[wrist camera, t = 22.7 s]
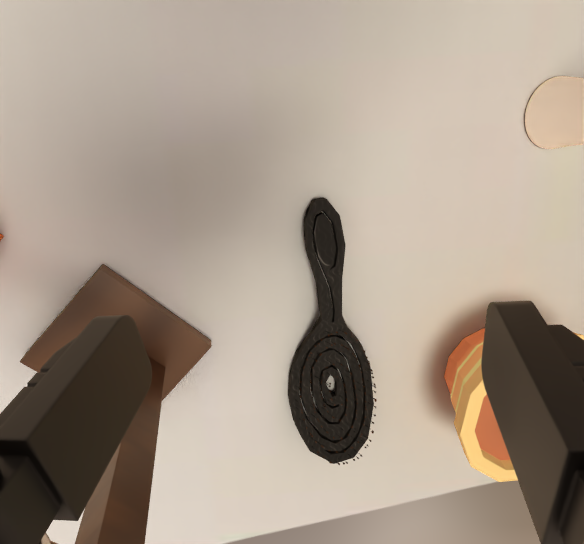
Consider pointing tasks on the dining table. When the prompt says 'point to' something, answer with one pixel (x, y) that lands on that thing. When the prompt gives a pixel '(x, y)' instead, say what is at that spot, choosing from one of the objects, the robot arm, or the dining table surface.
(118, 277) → the hook stand
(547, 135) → the cosmetic bottle
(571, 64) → the dining table surface
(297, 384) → the hairbrush
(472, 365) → the potted cactus
